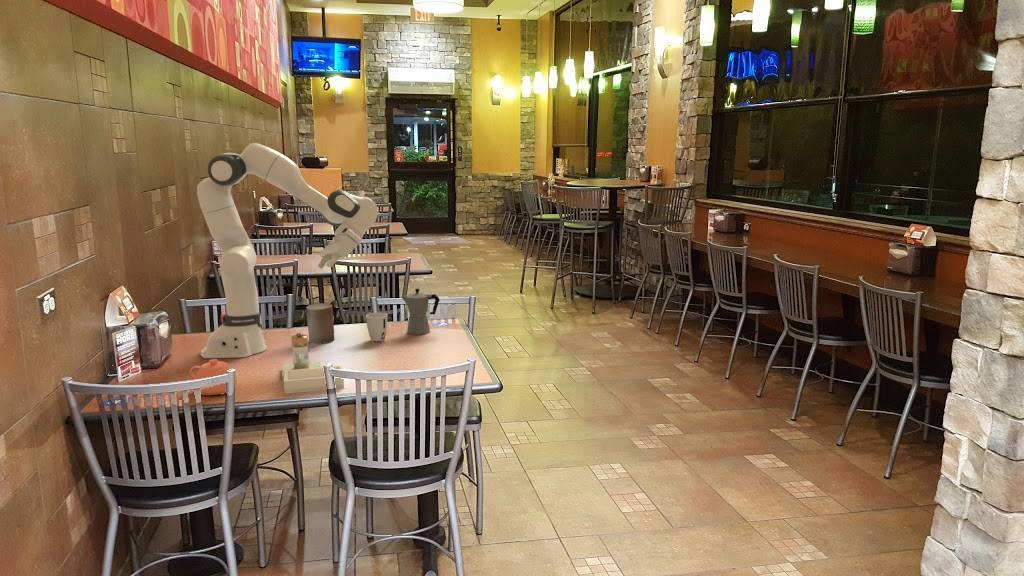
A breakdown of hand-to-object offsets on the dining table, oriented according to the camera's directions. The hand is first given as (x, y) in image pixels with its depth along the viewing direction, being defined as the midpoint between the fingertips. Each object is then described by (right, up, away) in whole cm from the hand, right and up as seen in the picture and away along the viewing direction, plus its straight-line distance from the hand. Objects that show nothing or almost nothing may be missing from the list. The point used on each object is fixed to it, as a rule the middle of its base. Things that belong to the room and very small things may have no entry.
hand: (323, 266), depth 245 cm
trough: (+4, -38, -25) cm, 46 cm away
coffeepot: (+29, -25, +37) cm, 54 cm away
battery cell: (-4, -34, -13) cm, 37 cm away
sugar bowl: (-26, -39, -30) cm, 56 cm away
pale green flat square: (-4, -36, -13) cm, 38 cm away
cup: (+14, -28, +26) cm, 40 cm away
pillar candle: (-8, -28, +26) cm, 39 cm away
